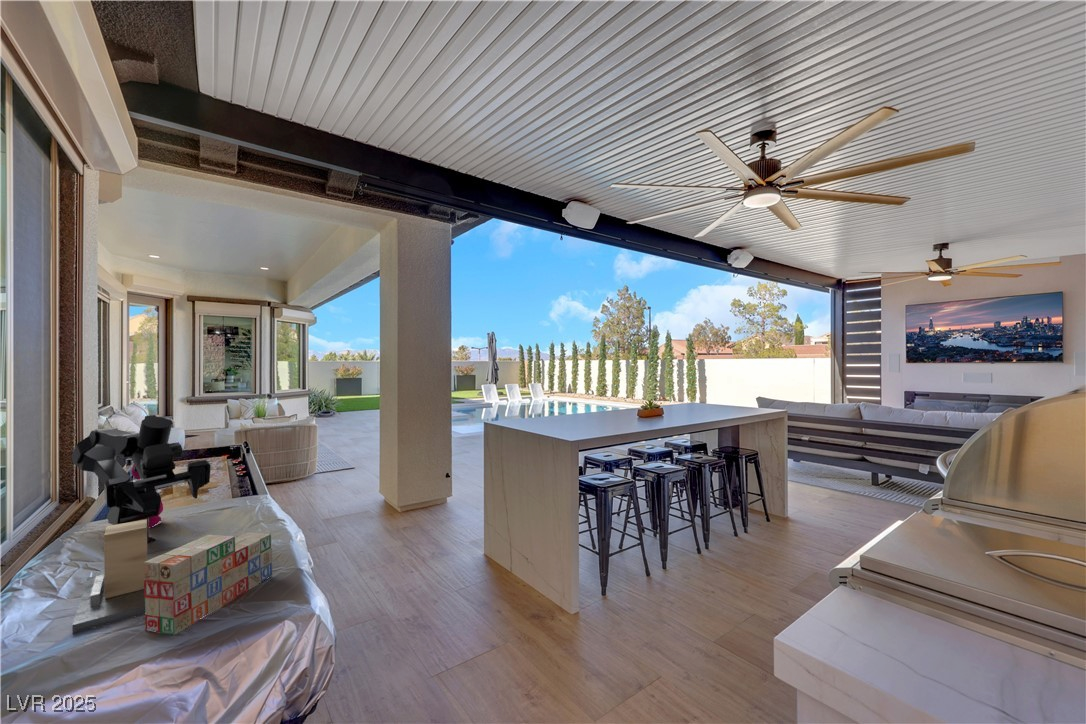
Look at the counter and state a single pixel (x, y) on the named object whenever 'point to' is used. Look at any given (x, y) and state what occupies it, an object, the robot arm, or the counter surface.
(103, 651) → the counter surface
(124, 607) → the chute
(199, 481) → the robot arm
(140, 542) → the oak block
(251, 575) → the stack of blocks
